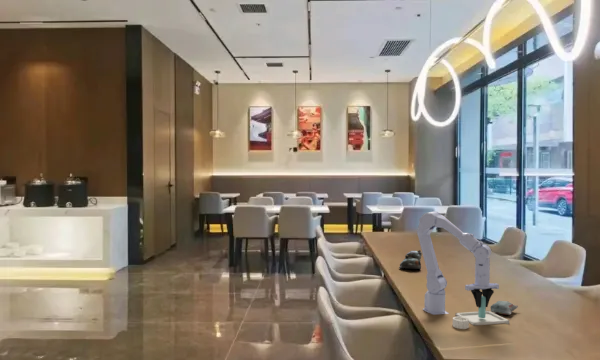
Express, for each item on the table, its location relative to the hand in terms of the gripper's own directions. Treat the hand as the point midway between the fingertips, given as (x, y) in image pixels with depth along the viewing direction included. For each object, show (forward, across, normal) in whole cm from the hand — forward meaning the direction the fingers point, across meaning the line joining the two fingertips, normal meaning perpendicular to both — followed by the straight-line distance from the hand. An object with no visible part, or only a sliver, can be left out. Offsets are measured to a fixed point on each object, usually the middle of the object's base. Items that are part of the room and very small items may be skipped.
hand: (481, 306), depth 206 cm
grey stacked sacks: (+6, +18, +104) cm, 106 cm away
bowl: (+6, -14, -7) cm, 17 cm away
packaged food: (+6, +16, +7) cm, 19 cm away
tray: (+6, 0, 0) cm, 6 cm away
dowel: (+4, 0, 0) cm, 4 cm away
